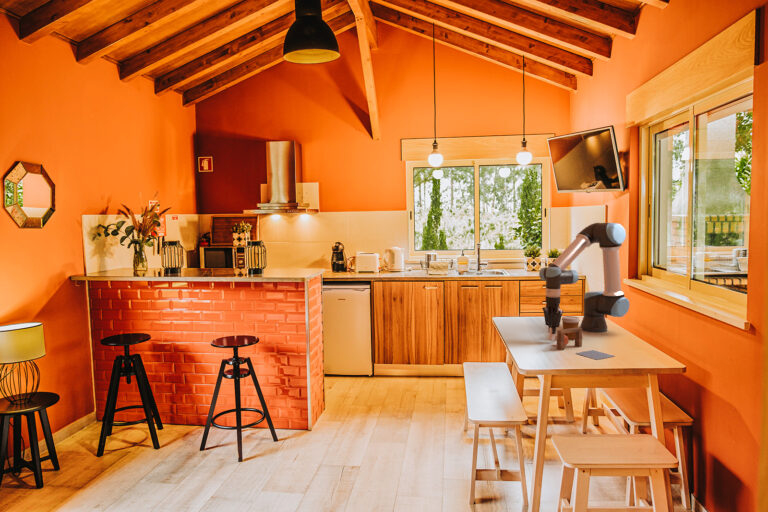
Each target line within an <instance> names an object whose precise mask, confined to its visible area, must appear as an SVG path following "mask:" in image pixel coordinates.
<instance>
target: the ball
mask: <svg viewBox="0 0 768 512" xmlns="http://www.w3.org/2000/svg"><path fill="white" fill-rule="evenodd" d="M569 342H570V340H569V339H568V337H567V336H566V335H564V347H565V346H567V345H568V344H569Z"/></svg>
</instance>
